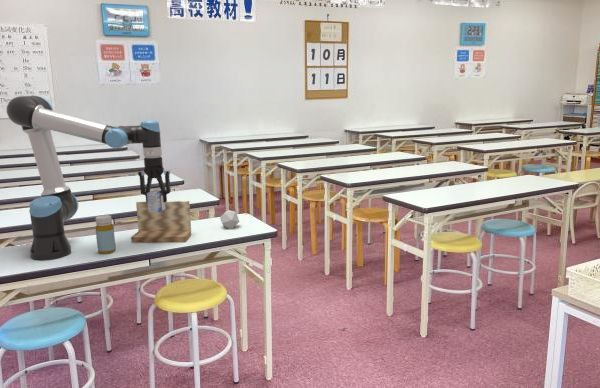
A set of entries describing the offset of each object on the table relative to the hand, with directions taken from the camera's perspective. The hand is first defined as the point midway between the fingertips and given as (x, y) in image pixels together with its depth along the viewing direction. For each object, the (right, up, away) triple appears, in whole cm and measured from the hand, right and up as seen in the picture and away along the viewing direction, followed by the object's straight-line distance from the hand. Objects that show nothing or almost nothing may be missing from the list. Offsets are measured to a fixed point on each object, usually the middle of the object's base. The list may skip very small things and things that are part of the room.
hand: (157, 209), depth 223 cm
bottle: (-18, -17, -10) cm, 27 cm away
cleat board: (0, -13, +7) cm, 15 cm away
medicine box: (0, -1, 0) cm, 1 cm away
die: (+29, -10, +24) cm, 39 cm away
